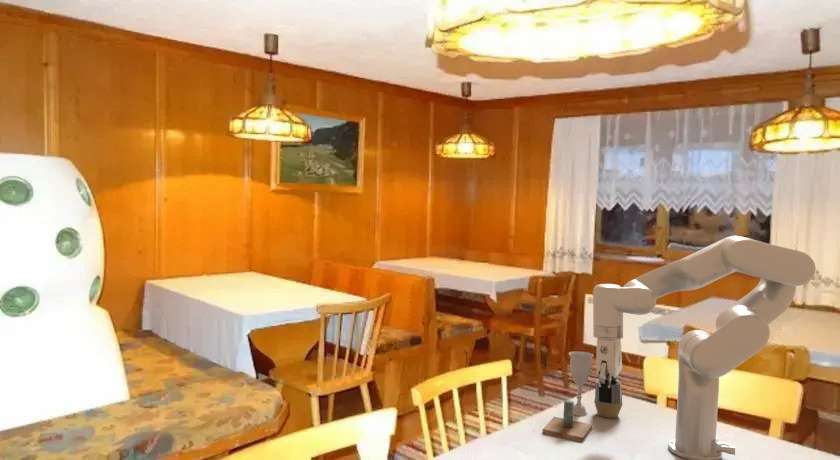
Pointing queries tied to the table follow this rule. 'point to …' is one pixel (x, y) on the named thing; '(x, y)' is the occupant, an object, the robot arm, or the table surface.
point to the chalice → (580, 376)
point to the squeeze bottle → (609, 407)
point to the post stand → (568, 425)
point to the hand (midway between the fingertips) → (608, 397)
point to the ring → (615, 391)
